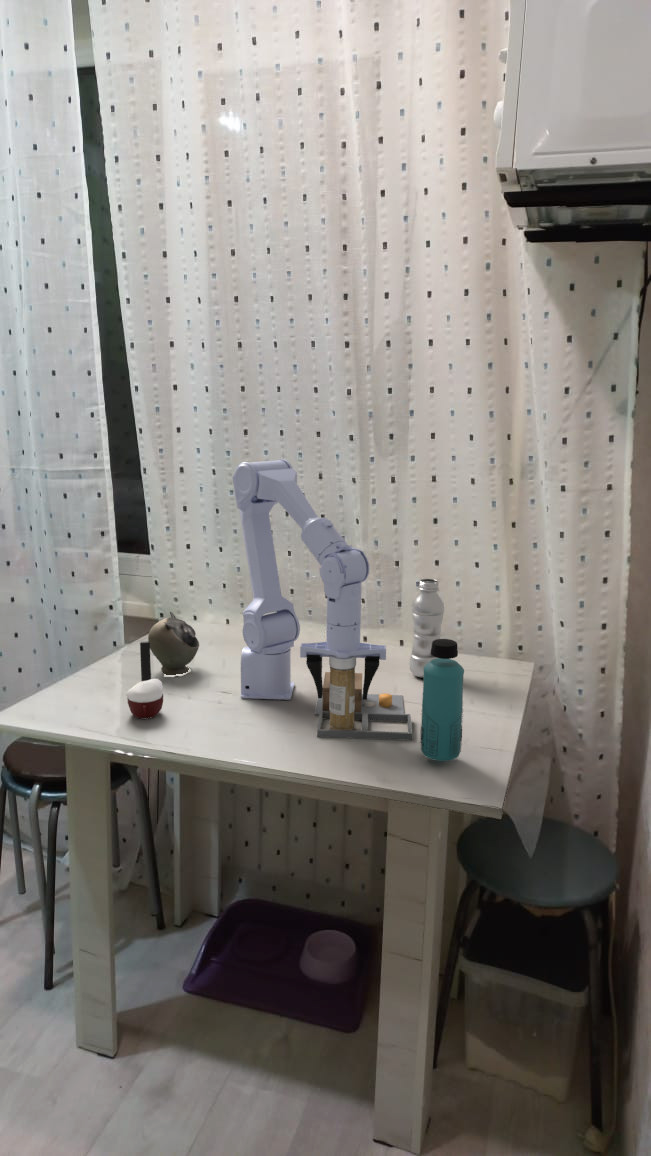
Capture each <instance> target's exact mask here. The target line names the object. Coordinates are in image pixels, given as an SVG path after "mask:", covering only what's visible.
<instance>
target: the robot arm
mask: <svg viewBox="0 0 651 1156" xmlns="http://www.w3.org/2000/svg"><path fill="white" fill-rule="evenodd" d="M232 482H233V483H232V484H233V489H234V495H235V501H236V508H237V509H238V510H239V516H240V522H241V527H242V528H241V529H242V533H243V534H242V536H243V540H244V547H245V548H244V549H245V553H246V554H245V555H246V560H247V566H248V572H249V579H250V584H251V585H250V586H251V591H252V597H253V600H252V601H251V602H250V604H248V606H246V607H245V609H244V610H243V612H242V616H243V625H242V638H243V640H244V642H245V644H246V646H243V648H242V650H241V654H240V698H241V699H255V700H256V699H257V700H258V699H259V700H260V699H261V700H262V699H263V700H292V695H293V692H294V687H295V682H294V681H291V679H292V678H291V672H292V669H291V662H292V660H291V657H292V656H291V655H292V654H291V651H292V650H291V648H293V647H295V642H296V641H297V640H298V639H299V637H300V635H301V634H300V633H301V632H300V631H301V624H300V621H299V618H298V617H297V615H296V612H295V608H294V603H293V602H291V601H290V600H288V599H287V598H286V597H284V596H283V595H282V589H281V585H280V584H281V583H280V582H281V581H280V577H279V571H278V564H277V558H276V557H277V556H276V552H275V546H274V545H275V544H274V539H273V538H274V537H273V532H272V526H271V520H270V512H271V510H272V509H273V508H274V506H275V505H277V504H279V505H280V506H281V507H282V508H283V509H284V510H285V512H286V513H288V515H289V516H290V518H292V519H293V521H295V523H296V525H298V527H300V529H301V534H300V538H301V541H302V542H303V544H304V545H305V546H306V547H307V549H308V550H309V552H310V553H311V555H312V556H313V557H314V559H315V560H316V561H317V563H318V565H320V567H319V569H318V570H319V575H320V578H321V581H322V583H323V592H324V594H325V597H326V641H319V642H309V643H308V642H307V643H306V642H303V643H300V647H299V648H300V649H299V656H300V658H304V659H305V658H306V666H307V669H308V670H309V673H310V674H311V677H312V678H313V681H314V682H313V683H314V685H315V688H316V693H317V699H318V698H322V694H323V658H324V657H325V658H329V656H330V655H334V656H336V657H338V658H348V657H349V656H356V659H359V658H361V659H364V678H363V684H362V694H363V700H367V694H369V689H370V686H371V683H372V681H373V679H374V677H375V675H376V672H377V671H378V669H379V667H380V660H381V661H385V660H387V645H385V644H384V645H381V644H373V643H366V642H361V624H362V621H361V619H362V583H364V582H366V580H367V579H368V577H369V574H370V563H369V559H368V557H367V556H366V554H365V553H364V550H362V549H360V548H358V547H357V548H356V547H353V545H352V544H351V545H350V544H348V543H347V542H346V541H345V539H344V537H342V535H341V534H340V533H339V531H337V529H336V528H335V526H334V524H333V522H332V520H330V519H328V518H326V517H319V516H318V515H317V514H316V511H315V510H314V508H313V506H312V505H311V504H310V503H309V501H308V499H307V497H306V495H305V494H304V493H303V491H302V490H301V488H300V487H299V485H298V474H297V471H296V470H295V469H294V467H293V465H292V464H291V463H290V461H288V460H287V459H285V458H283V459H278V460H266V461H265V460H264V461H253V462H249V461H242V462H240V463H239V465H238V466H237V468H236V469H235V471H234V473H233V475H232Z"/></svg>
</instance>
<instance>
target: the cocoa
mask: <svg viewBox="0 0 651 1156" xmlns="http://www.w3.org/2000/svg"><path fill="white" fill-rule="evenodd" d="M139 650H140V653H139V654H140V676H141V678H140V679H141V680H140V682H138V683H136V684H134V686H132V687H131V688H130V689H128V690H127V691H126V693H125V695H126V698H127V699H126V700H127V704H128V708H129V711H130V712H131V715H132V716H133V717H136V718H138V719H141V718H148V719H151V718H150V717H152V718H154V717H156V716H157V715H159V713H160V712H161V711H162V709H163V704H164V694H163V691H164V688H163V682H162V681H161V680H159V678H152V672H151V671H152V670H151V667H152V666H151V649H150V642H149V641H148V640H147V641H146V640H145V641H141V642H140V643H139Z"/></svg>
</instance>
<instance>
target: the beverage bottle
mask: <svg viewBox="0 0 651 1156" xmlns="http://www.w3.org/2000/svg"><path fill="white" fill-rule="evenodd" d="M458 654H459V651H458V642H457V641H455V640H453V639H449V638H440V639H436V640H434V641H433V642H432V647H431V655H432V656H434V657H436V658H437V659H433V660H431V661H430V662H429V663H427V664H426V665H425V666H424V668H423V671H424V678H423V684H422V685H423V686H422V698H421V700H422V701H421V714H420V716H421V717H420V720H421V721H420V722H421V723H420V724H421V726H420V734H419V735H420V738H419V739H420V743H419V746H420V750H421V753H422V755H423V756H425V757H426V758H427V759H429V760H430V759H431V760H433V761H439V762H446V761H452V760H453V761H454V760H455V759H457V758H458V757H459V756H460V753H461V751H462V744H463V743H462V741H463V721H464V720H463V719H464V718H463V712H464V709H463V707H464V701H463V698H464V697H463V695H464V694H463V693H464V674H465V669H464V667H463V666H462V665H461V664H460V663H459V662H458V661H456V660H455V658H457V657H458Z"/></svg>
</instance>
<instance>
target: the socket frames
mask: <svg viewBox="0 0 651 1156" xmlns="http://www.w3.org/2000/svg"><path fill="white" fill-rule="evenodd" d="M411 718H412V717H411V714H410V713H404V714H390V713H361V712H354V721H356V720H357V721H361V730H356V729H355V730H354V729H353V730H331V729H325V728H324V729H323V728H322V726H323V720H328V719H329V720H330V711H320V715H318V723H317V728H316V737H317V738H335V739H340V738H341V739H362V740H363V739H366V740H389V741H390V740H391V741H392V740H394V741H395V740H396V741H413V728H412V727H413V726H412V719H411ZM369 721H380V722H382V721H383V722H386V721H388V722H406V723H407V731H385V730H384V731H382V730H381V731H379V730H369V729H368V728H369V726H368V725H369Z"/></svg>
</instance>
